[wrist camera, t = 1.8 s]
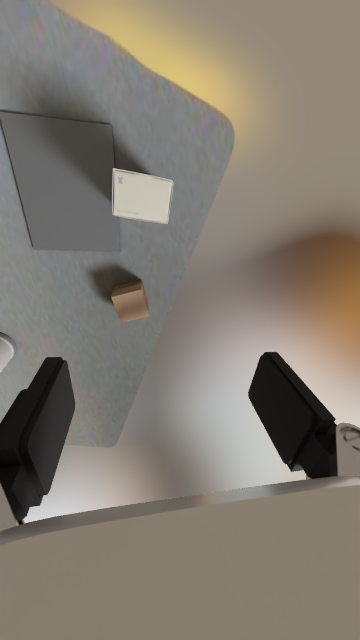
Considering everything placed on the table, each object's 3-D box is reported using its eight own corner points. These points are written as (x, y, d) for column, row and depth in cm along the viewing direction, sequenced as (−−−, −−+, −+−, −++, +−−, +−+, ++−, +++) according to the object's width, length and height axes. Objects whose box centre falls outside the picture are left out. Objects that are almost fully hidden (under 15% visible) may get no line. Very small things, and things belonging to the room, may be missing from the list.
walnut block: (114, 286, 39) (111, 297, 35) (141, 279, 40) (141, 289, 35) (123, 309, 42) (121, 323, 38) (148, 303, 42) (149, 315, 38)
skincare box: (118, 209, 34) (109, 216, 23) (119, 175, 31) (110, 166, 21) (159, 217, 35) (168, 226, 25) (163, 184, 33) (174, 180, 22)
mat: (0, 112, 26) (-2, 111, 26) (111, 125, 29) (111, 125, 28) (35, 248, 34) (33, 249, 34) (120, 250, 36) (120, 251, 36)
